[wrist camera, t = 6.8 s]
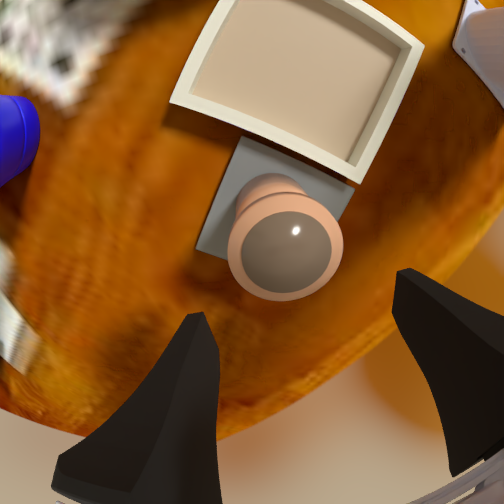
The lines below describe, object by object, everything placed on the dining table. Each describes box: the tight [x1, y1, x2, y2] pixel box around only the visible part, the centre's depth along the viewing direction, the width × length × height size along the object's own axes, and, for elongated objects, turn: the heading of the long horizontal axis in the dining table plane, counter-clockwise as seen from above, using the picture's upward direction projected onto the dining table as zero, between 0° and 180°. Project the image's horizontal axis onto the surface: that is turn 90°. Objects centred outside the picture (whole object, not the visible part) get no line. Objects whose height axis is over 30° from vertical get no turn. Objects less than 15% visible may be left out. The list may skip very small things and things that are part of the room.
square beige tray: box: [169, 0, 425, 184], centre depth 13 cm, size 12×11×2 cm
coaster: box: [196, 135, 355, 260], centre depth 18 cm, size 8×8×1 cm
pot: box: [227, 173, 343, 301], centre depth 15 cm, size 5×5×6 cm
